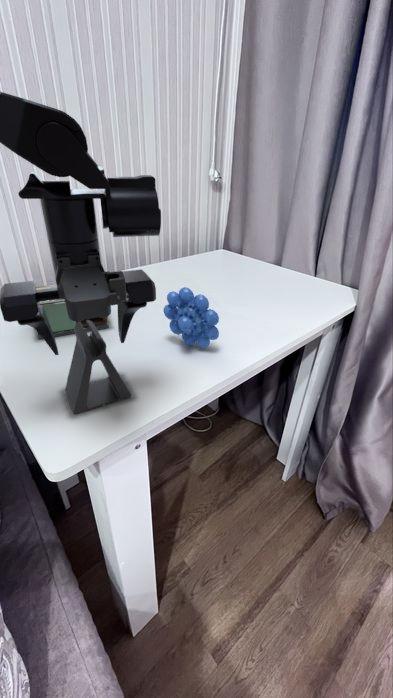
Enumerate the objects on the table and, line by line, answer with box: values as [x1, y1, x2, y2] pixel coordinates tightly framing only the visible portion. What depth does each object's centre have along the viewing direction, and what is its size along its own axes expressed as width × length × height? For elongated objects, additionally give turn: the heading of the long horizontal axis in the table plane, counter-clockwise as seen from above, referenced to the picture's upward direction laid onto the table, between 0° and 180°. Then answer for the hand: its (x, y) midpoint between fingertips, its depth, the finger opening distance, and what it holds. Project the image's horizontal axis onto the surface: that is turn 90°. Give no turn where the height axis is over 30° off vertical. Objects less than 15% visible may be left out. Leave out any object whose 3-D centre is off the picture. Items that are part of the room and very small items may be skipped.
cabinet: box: [35, 284, 110, 340], centre depth 71 cm, size 14×10×7 cm
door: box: [36, 287, 76, 332], centre depth 65 cm, size 7×1×9 cm, turn 114°
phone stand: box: [64, 320, 132, 416], centre depth 50 cm, size 9×6×12 cm, turn 119°
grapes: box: [162, 286, 220, 348], centre depth 63 cm, size 12×7×12 cm, turn 67°
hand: (90, 347), depth 48 cm, fingers open, 9 cm apart
